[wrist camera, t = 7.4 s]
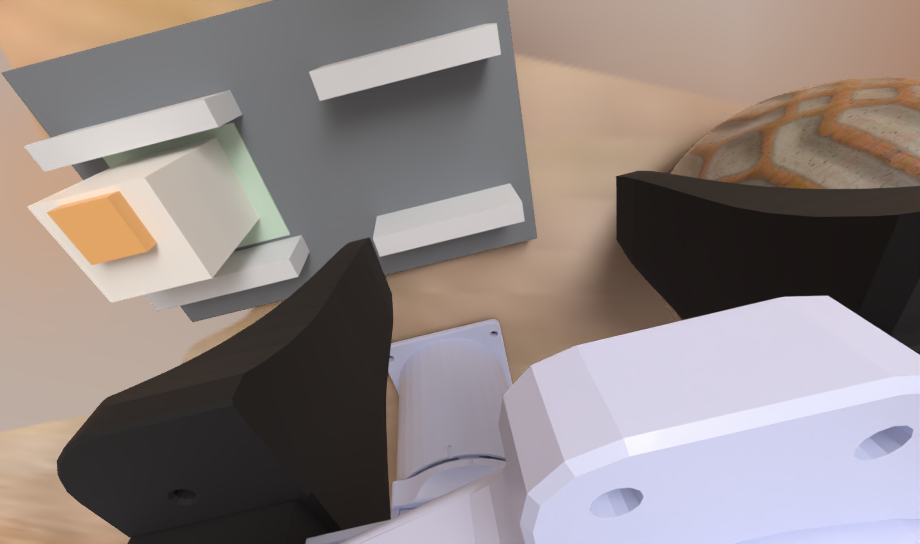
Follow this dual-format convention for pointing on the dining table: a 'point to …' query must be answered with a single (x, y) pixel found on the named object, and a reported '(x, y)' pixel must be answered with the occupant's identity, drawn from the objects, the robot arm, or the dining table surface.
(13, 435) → the dining table surface
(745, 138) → the vase
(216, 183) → the plug
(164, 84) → the panel
